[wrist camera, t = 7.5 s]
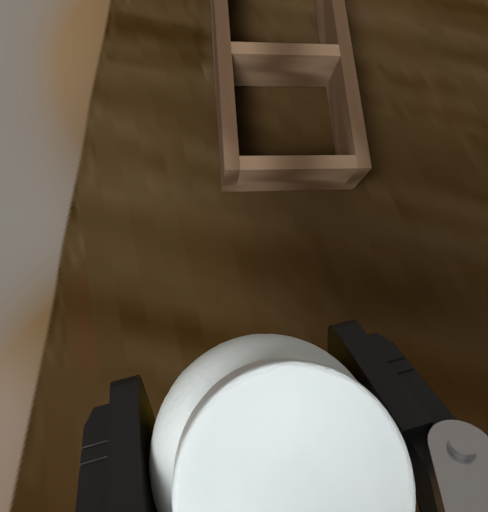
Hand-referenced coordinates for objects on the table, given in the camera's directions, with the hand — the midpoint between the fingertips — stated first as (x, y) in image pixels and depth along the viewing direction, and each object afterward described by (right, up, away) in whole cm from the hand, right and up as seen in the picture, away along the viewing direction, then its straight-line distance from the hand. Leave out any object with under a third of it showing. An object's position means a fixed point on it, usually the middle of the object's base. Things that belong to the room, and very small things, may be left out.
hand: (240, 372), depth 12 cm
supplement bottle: (0, -3, +4) cm, 5 cm away
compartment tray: (+2, +22, +23) cm, 31 cm away
